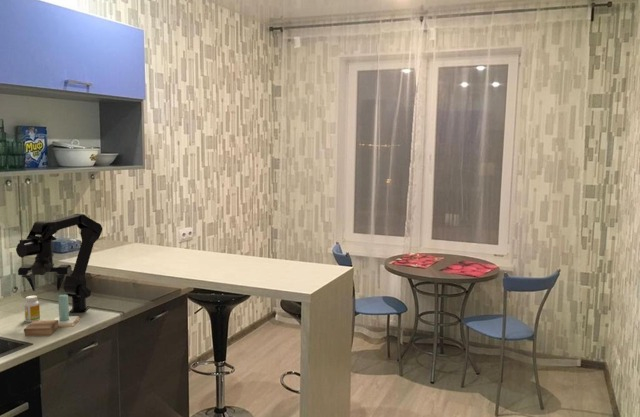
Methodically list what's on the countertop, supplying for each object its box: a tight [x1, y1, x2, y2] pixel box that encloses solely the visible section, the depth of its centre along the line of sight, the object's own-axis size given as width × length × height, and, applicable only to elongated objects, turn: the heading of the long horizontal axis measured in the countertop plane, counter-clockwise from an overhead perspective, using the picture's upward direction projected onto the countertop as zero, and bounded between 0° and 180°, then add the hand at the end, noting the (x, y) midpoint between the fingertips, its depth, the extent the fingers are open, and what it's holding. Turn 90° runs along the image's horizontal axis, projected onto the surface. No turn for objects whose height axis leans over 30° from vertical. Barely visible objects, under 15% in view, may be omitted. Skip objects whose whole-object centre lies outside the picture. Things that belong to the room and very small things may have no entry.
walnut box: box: [23, 319, 59, 337], centre depth 207 cm, size 9×9×3 cm
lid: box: [53, 294, 80, 325], centre depth 217 cm, size 9×9×11 cm
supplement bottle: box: [23, 295, 41, 323], centre depth 220 cm, size 5×5×10 cm
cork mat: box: [58, 316, 82, 328], centre depth 218 cm, size 10×10×1 cm
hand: (46, 290), depth 217 cm, fingers open, 9 cm apart
